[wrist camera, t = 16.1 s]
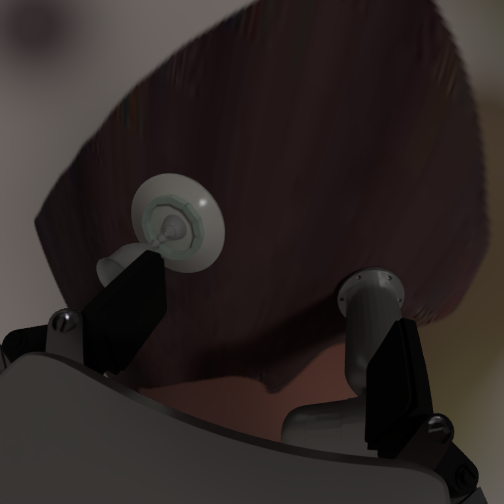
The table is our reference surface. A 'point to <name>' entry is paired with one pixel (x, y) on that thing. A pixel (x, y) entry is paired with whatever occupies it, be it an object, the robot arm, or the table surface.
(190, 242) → the plate
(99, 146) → the table surface
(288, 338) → the table surface
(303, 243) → the table surface
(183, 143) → the table surface
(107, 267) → the chalice
